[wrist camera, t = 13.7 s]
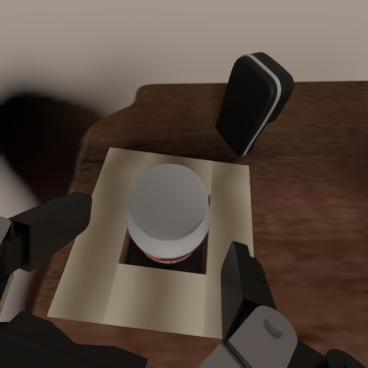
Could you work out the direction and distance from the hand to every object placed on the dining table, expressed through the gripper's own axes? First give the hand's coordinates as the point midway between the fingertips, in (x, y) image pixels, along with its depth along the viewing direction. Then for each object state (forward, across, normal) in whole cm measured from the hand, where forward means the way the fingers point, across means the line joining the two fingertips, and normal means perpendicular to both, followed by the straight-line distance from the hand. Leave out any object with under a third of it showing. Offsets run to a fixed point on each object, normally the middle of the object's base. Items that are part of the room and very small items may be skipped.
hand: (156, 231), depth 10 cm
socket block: (+10, 0, +7) cm, 12 cm away
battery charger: (+22, -5, -5) cm, 23 cm away
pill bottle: (+9, 0, +6) cm, 11 cm away
